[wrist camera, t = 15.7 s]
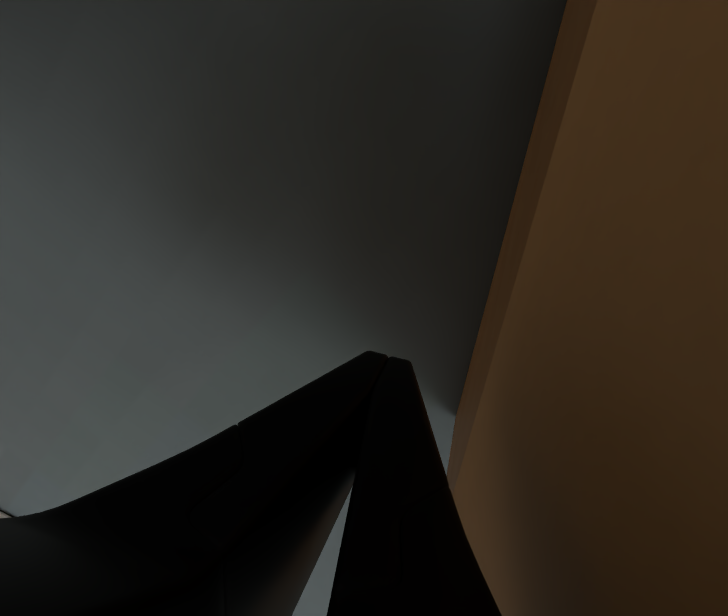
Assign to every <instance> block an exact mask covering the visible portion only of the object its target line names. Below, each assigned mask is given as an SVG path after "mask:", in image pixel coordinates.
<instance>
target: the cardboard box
mask: <svg viewBox="0 0 728 616" xmlns="http://www.w3.org/2000/svg"><path fill="white" fill-rule="evenodd" d="M596 3H597V0H567V3H566V7H565V10H564V14H563V18H562V22H561V25H560V29H559V33H558V37H557V40H556V44H555V48H554V52H553V55H552V59H551V63H550V66H549V70H548V74H547V78H546V81H545V85H544V89H543V93H542V96H541V100H540V104H539V108H538V111H537V115H536V119H535V123H534V126H533V130H532V134H531V138H530V141H529V145H528V149H527V153H526V156H525V160H524V164H523V168H522V171H521V175H520V179H519V182H518V186H517V190H516V194H515V197H514V201H513V205H512V209H511V212H510V216H509V220H508V224H507V227H506V231H505V235H504V239H503V242H502V246H501V250H500V254H499V257H498V261H497V265H496V269H495V272H494V276H493V280H492V284H491V287H490V291H489V295H488V299H487V302H486V306H485V310H484V313H483V317H482V321H481V325H480V328H479V332H478V336H477V340H476V343H475V347H474V351H473V355H472V358H471V362H470V366H469V370H468V373H467V377H466V381H465V385H464V388H463V392H462V396H461V400H460V403H459V407H458V411H457V415H456V419H455V425H454V431H453V438H452V444H451V451H450V457H449V464H448V470H447V480H448V483H449V488H450V489H451V492H452V495H453V492H454V488H455V485H456V482H457V478H458V475H459V471H460V468H461V464H462V461H463V458H464V454H465V451H466V447H467V444H468V441H469V437H470V434H471V430H472V427H473V423H474V420H475V417H476V413H477V410H478V406H479V403H480V400H481V396H482V393H483V389H484V386H485V382H486V379H487V376H488V372H489V369H490V365H491V362H492V359H493V355H494V352H495V348H496V345H497V341H498V338H499V335H500V331H501V328H502V324H503V321H504V318H505V314H506V311H507V307H508V304H509V300H510V297H511V294H512V290H513V287H514V283H515V280H516V277H517V273H518V270H519V266H520V263H521V259H522V256H523V253H524V249H525V246H526V242H527V239H528V236H529V232H530V229H531V225H532V222H533V218H534V215H535V212H536V208H537V205H538V201H539V198H540V195H541V191H542V188H543V184H544V181H545V177H546V174H547V171H548V167H549V164H550V160H551V157H552V153H553V150H554V147H555V143H556V140H557V136H558V133H559V130H560V126H561V123H562V119H563V116H564V112H565V109H566V106H567V102H568V99H569V95H570V92H571V89H572V85H573V82H574V78H575V75H576V71H577V68H578V65H579V61H580V58H581V54H582V51H583V48H584V44H585V41H586V37H587V34H588V30H589V27H590V24H591V20H592V17H593V13H594V10H595V7H596Z"/></svg>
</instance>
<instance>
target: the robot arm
mask: <svg viewBox="0 0 728 616" xmlns="http://www.w3.org/2000/svg"><path fill="white" fill-rule="evenodd" d="M352 485H353V487H352ZM351 488H352V492H351V497H350V502H349V507H348V512H347V517H346V522H345V527H344V532H343V537H342V542H341V547H340V552H339V557H338V562H337V567H336V572H335V577H334V582H333V587H332V592H331V598H330V602H329V607H328V612H327V616H502V615H501V613H500V611H499V608H498V606H497V604H496V602H495V600H494V598H493V595H492V593H491V591H490V589H489V587H488V585H487V582H486V580H485V578H484V576H483V574H482V572H481V570H480V567H479V565H478V563H477V560H476V558H475V556H474V553H473V551H472V549H471V546H470V544H469V542H468V539H467V537H466V534H465V531H464V528H463V526H462V523H461V520H460V517H459V514H458V511H457V509H456V505H455V502H454V499H453V496H452V492H451V489H450V488H449V483H448V480H447V477H446V474H445V470H444V467H443V464H442V461H441V457H440V454H439V451H438V447H437V444H436V441H435V438H434V434H433V431H432V428H431V425H430V421H429V418H428V415H427V412H426V408H425V405H424V402H423V399H422V395H421V392H420V389H419V386H418V382H417V379H416V376H415V373H414V369H413V366H412V363H411V362H410V361H409V360H405V359H401V358H397V357H389V358H388V356H387V355H385V354H381V353H377V352H373V351H366V352H364V353H362V354H361V355H359V356H357V357H355V358H353V359H352V360H350V361H348V362H346V363H344V364H343V365H341V366H339V367H337V368H335V369H334V370H332V371H330V372H328V373H326V374H325V375H323V376H321V377H319V378H318V379H316V380H314V381H312V382H310V383H309V384H307V385H305V386H303V387H301V388H300V389H298V390H296V391H294V392H292V393H291V394H289V395H287V396H285V397H283V398H282V399H280V400H278V401H276V402H275V403H273V404H271V405H269V406H267V407H266V408H264V409H262V410H260V411H258V412H257V413H255V414H253V415H251V416H249V417H248V418H246V419H244V420H242V421H240V422H239V423H238V426H237V425H233V426H231V427H229V428H228V429H226V430H224V431H222V432H220V433H219V434H217V435H215V436H213V437H211V438H209V439H207V440H205V441H203V442H201V443H200V444H198V445H196V446H194V447H192V448H190V449H188V450H186V451H184V452H182V453H179V454H177V455H175V456H173V457H171V458H169V459H166V460H164V461H162V462H160V463H158V464H156V465H153V466H151V467H149V468H147V469H144V470H142V471H140V472H137V473H135V474H133V475H131V476H128V477H126V478H124V479H122V480H119V481H117V482H115V483H112V484H110V485H108V486H106V487H103V488H101V489H99V490H97V491H94V492H92V493H90V494H87V495H85V496H83V497H81V498H78V499H76V500H74V501H71V502H69V503H66V504H64V505H61V506H59V507H56V508H53V509H50V510H46V511H43V512H40V513H35V514H31V515H26V516H19V517H11V518H0V616H292V614H293V612H294V609H295V607H296V605H297V603H298V601H299V599H300V597H301V595H302V592H303V590H304V588H305V586H306V584H307V582H308V580H309V577H310V575H311V573H312V571H313V569H314V567H315V565H316V562H317V560H318V558H319V556H320V554H321V552H322V550H323V547H324V545H325V543H326V541H327V539H328V537H329V535H330V533H331V530H332V528H333V526H334V524H335V522H336V520H337V518H338V515H339V513H340V511H341V509H342V507H343V505H344V503H345V500H346V498H347V496H348V494H349V492H350V490H351Z"/></svg>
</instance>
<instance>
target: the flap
mask: <svg viewBox="0 0 728 616" xmlns="http://www.w3.org/2000/svg"><path fill="white" fill-rule="evenodd" d="M452 496H453V499H454V502H455V505H456V509H457V511H458V514H459V517H460V520H461V523H462V526H463V528H464V531H465V534H466V537H467V539H468V542H469V544H470V546H471V549H472V551H473V553H474V556H475V558H476V560H477V563H478V565H479V567H480V570H481V572H482V574H483V576H484V578H485V580H486V582H487V585H488V587H489V589H490V591H491V593H492V595H493V598H494V600H495V602H496V604H497V606H498V608H499V611H500V613H501V615H502V616H728V0H597V3H596V7H595V10H594V13H593V17H592V20H591V24H590V27H589V30H588V34H587V37H586V41H585V44H584V48H583V51H582V54H581V58H580V61H579V65H578V68H577V71H576V75H575V78H574V82H573V85H572V89H571V92H570V95H569V99H568V102H567V106H566V109H565V112H564V116H563V119H562V123H561V126H560V130H559V133H558V136H557V140H556V143H555V147H554V150H553V153H552V157H551V160H550V164H549V167H548V171H547V174H546V177H545V181H544V184H543V188H542V191H541V195H540V198H539V201H538V205H537V208H536V212H535V215H534V218H533V222H532V225H531V229H530V232H529V236H528V239H527V242H526V246H525V249H524V253H523V256H522V259H521V263H520V266H519V270H518V273H517V277H516V280H515V283H514V287H513V290H512V294H511V297H510V300H509V304H508V307H507V311H506V314H505V318H504V321H503V324H502V328H501V331H500V335H499V338H498V341H497V345H496V348H495V352H494V355H493V359H492V362H491V365H490V369H489V372H488V376H487V379H486V382H485V386H484V389H483V393H482V396H481V400H480V403H479V406H478V410H477V413H476V417H475V420H474V423H473V427H472V430H471V434H470V437H469V441H468V444H467V447H466V451H465V454H464V458H463V461H462V464H461V468H460V471H459V475H458V478H457V482H456V485H455V488H454V492H453V495H452Z"/></svg>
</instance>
